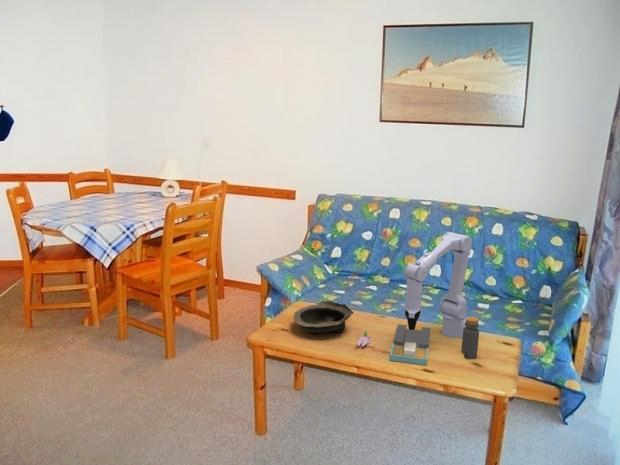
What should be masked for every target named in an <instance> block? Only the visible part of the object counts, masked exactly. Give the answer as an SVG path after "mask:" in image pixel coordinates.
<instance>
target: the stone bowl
mask: <svg viewBox="0 0 620 465" xmlns="http://www.w3.org/2000/svg"><path fill="white" fill-rule="evenodd" d="M353 314H354V311H353V310H352V309H351V308H349V306H347V305H346V304H345V303H343V304H341V303H338V302H334V301H329V300H327V301H325V300H322V301H320V302H318V303H317V304H311V305H308V306H304V307H302V308H299V309H298V310H296V311H294V313H293V317H292V318H293V321H294V322H295V323H297V324H298V325H300V326H302V327H303V329H304V331H305V332H306V333H314V334H315V333H326V332H327V333H328V332H333V331H337V332H339V333H341V332H344V331H345V329H346V321H347V320H348V319H349V318H351V317H352V315H353Z"/></svg>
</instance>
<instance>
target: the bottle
mask: <svg viewBox="0 0 620 465" xmlns="http://www.w3.org/2000/svg"><path fill="white" fill-rule="evenodd" d="M465 318H466V322H465V326H466V327H465V328H464V329H463V338H461V339H462V340H461V353H462V354H463V357H464V358H466V359H471V360H474V359H476V358H477V357H478V351H479V336H480V329H479V327H480V324H479V320H480V319H479V318H478V317H476V316H467V317H465Z"/></svg>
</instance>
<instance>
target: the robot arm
mask: <svg viewBox="0 0 620 465" xmlns="http://www.w3.org/2000/svg"><path fill="white" fill-rule="evenodd" d="M472 243H473V240H472V238H471V237H470V236H469V235H464V234H460V233H455V232H452V231H446V232H445V234H443V235H442V237H441V241H440V243H438V244H437V245H436V246H435V247H434V248H433V250H432V251H431V252H425V253H424V254H423V255H422V256H421V257H420V258H419V259H417V260H416V261H415V262H414V263H410V264H408V265H407V266H406V267H405V268H404V269H405V270H404V272H403V273H404V274H403V275H404V277H405V282H406V294H405V304H402V307H401V308H402V309H405V312H404V316H405V317H406V320H407V329H409V330H416V326H417V322H418V319H419V318H420V316H421V312H422V311H421V310H422V298H423V296H422V295H423V281H425V279H426V278H427V276H428V274H429V272H430V271H431V269H432V268H434V267H435V266H436V265H437V263H438V259H439V258H440V257H442V256H444V255H445V254H446V253H448V252H449V251H451V253H452V254H453V256H454V259H453V265H452V270H451V275H450V276H451V277H450V280H449V281H450V283H449V287H448V292H447V293H446V294H444V295H442V298H441V301H440V303H439V306H438V307H439V311H440V313H441V316H442V326H441V334H442V336H445V337H448V338H456V339H457V338H459V339H462V338H463V329H464V328H465V327H466V326H465V322H466V317H465V316H466V314H467V311H468V309H467V303H468V301H467V299H465V297H464V296H463V289H464V284H465V278H466V272H467V268H468V261H469V256H470V255H471V251H472Z"/></svg>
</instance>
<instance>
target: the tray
mask: <svg viewBox="0 0 620 465" xmlns="http://www.w3.org/2000/svg"><path fill="white" fill-rule="evenodd" d="M391 345H392V346H391V350H390V353H389V362H395V363H401V364H410V365H417V366H426V367H427V366H428V356H429V349H430V347H429V348H428V347H427V349H426V354H425V358H423V357H416V356H415V357H408V356H404V355H400V354H399V355H398V354H393V353H394V349H395V346H396V345H395V343H392V344H391Z"/></svg>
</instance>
